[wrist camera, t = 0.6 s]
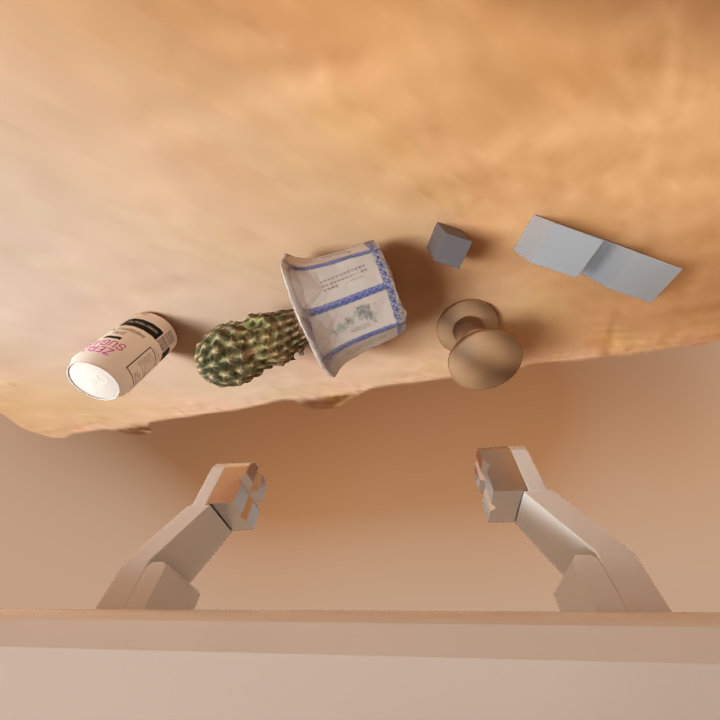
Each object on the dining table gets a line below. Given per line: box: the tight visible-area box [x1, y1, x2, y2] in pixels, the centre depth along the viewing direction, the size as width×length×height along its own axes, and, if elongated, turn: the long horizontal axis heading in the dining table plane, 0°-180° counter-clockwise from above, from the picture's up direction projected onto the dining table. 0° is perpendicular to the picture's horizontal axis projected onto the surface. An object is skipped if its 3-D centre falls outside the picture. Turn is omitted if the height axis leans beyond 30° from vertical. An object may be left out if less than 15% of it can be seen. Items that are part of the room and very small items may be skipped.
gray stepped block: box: [514, 215, 682, 303], centre depth 42 cm, size 5×19×6 cm, turn 73°
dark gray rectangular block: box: [427, 222, 472, 268], centre depth 41 cm, size 4×4×7 cm
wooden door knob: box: [437, 299, 522, 390], centre depth 47 cm, size 10×10×11 cm
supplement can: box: [66, 312, 177, 400], centre depth 49 cm, size 8×8×15 cm
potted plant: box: [194, 240, 408, 388], centre depth 43 cm, size 18×18×30 cm
